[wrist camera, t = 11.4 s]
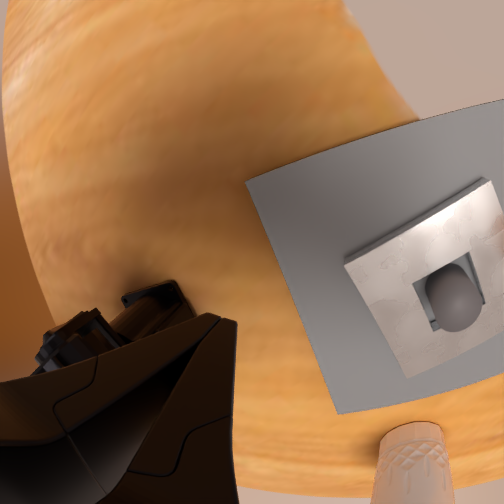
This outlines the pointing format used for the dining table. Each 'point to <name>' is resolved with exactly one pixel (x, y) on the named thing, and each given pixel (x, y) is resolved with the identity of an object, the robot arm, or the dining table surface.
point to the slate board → (371, 230)
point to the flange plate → (425, 262)
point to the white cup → (413, 467)
